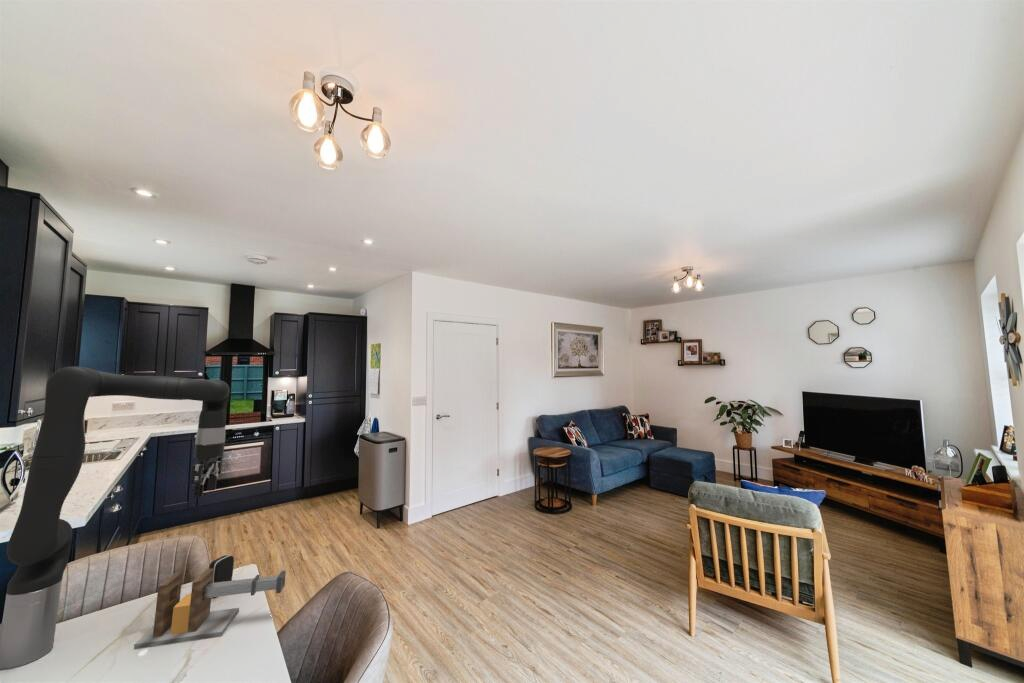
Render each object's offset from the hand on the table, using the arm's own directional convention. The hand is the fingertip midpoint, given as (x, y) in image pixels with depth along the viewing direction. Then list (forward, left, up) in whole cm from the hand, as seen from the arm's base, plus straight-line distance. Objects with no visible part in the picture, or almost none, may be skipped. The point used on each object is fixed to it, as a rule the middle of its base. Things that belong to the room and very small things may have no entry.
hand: (204, 493), depth 120 cm
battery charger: (+2, +12, -36) cm, 38 cm away
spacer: (+2, -8, -35) cm, 36 cm away
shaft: (+16, -8, -28) cm, 33 cm away
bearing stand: (+3, -8, -36) cm, 37 cm away
